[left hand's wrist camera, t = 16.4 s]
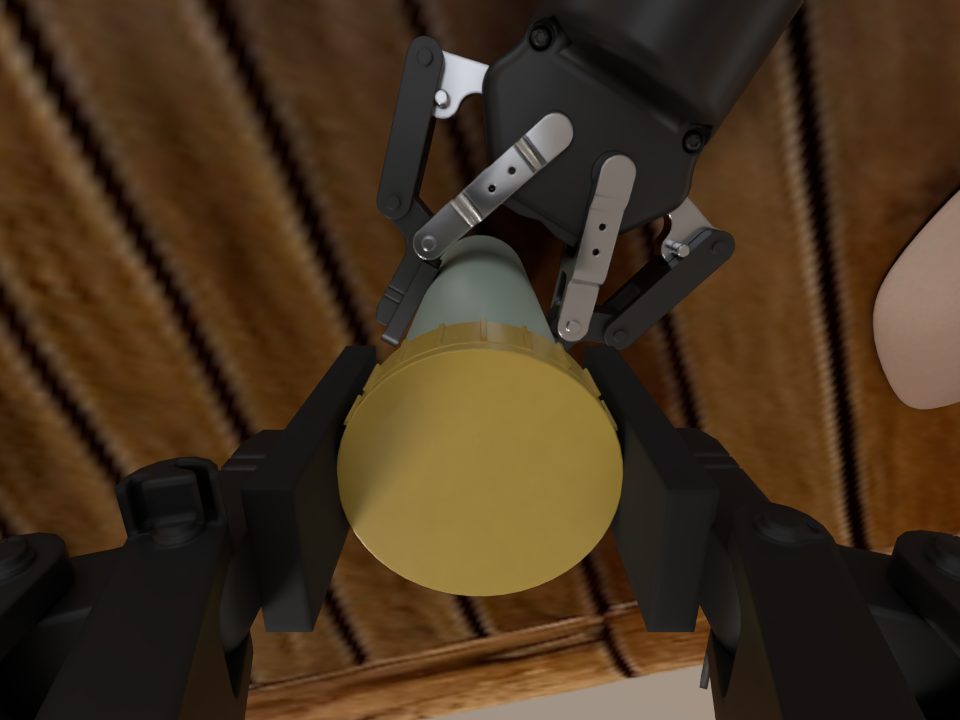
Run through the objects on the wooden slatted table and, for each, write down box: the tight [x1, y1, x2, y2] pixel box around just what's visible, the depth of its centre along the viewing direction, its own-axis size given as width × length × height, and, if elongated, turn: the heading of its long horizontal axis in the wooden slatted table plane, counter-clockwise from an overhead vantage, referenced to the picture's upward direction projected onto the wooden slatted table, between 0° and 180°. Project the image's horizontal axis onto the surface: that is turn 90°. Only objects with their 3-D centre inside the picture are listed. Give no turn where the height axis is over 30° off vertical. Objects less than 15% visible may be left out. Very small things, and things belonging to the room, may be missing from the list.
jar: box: [406, 235, 556, 344], centre depth 19 cm, size 5×5×18 cm
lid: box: [337, 318, 623, 596], centre depth 11 cm, size 6×6×2 cm
